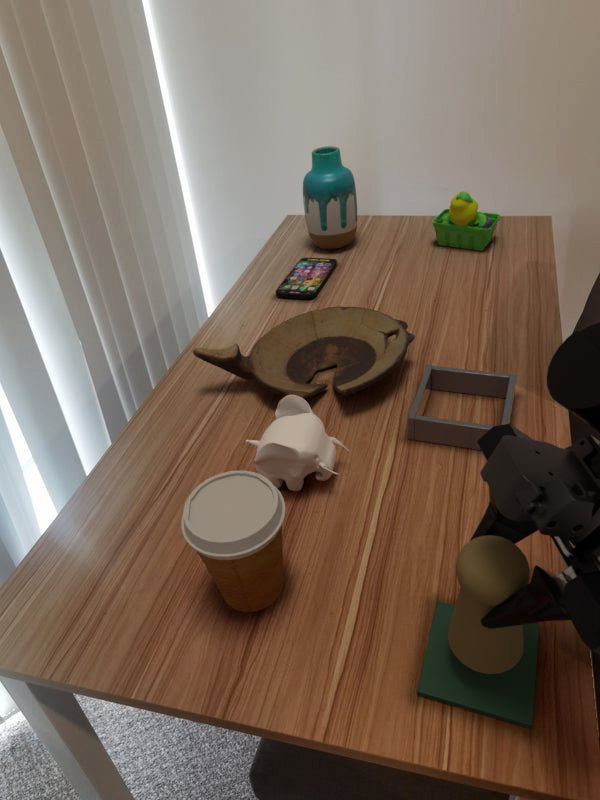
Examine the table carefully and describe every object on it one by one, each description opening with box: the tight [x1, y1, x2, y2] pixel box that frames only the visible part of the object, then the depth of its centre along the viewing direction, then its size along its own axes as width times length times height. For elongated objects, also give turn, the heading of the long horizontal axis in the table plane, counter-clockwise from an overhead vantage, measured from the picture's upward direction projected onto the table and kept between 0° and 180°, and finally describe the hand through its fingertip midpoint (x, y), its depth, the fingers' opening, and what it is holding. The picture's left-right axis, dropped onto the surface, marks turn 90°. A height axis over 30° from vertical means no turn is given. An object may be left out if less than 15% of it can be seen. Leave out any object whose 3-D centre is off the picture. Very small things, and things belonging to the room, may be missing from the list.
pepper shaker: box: [448, 535, 531, 674], centre depth 46 cm, size 6×6×11 cm
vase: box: [302, 145, 358, 250], centre depth 119 cm, size 11×11×19 cm
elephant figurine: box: [245, 395, 350, 492], centre depth 70 cm, size 10×12×9 cm
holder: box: [407, 364, 518, 451], centre depth 76 cm, size 12×12×4 cm
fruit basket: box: [431, 191, 501, 252], centre depth 115 cm, size 11×9×11 cm
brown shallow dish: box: [192, 306, 416, 399], centre depth 87 cm, size 22×30×8 cm
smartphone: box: [275, 257, 338, 300], centre depth 113 cm, size 8×1×15 cm
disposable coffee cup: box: [180, 470, 286, 613], centre depth 57 cm, size 10×10×12 cm
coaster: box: [416, 600, 540, 730], centre depth 52 cm, size 9×9×1 cm
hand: (472, 594), depth 46 cm, fingers closed on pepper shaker, 5 cm apart
